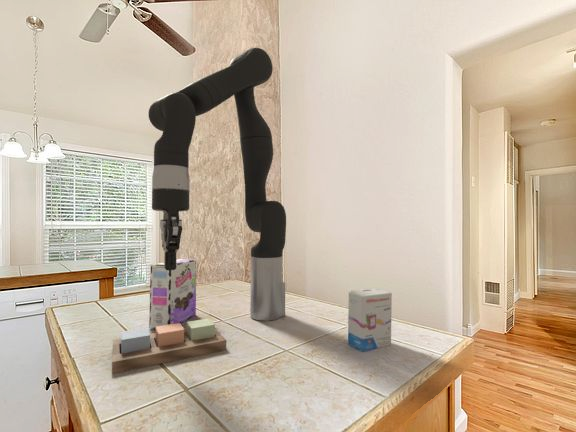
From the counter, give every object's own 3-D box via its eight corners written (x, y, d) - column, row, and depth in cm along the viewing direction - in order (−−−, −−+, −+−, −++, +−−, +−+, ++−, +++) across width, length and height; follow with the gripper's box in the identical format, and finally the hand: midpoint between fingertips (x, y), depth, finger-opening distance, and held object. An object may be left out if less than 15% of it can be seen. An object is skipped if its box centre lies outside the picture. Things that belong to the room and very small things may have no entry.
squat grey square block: (147, 341, 65) (147, 327, 65) (150, 350, 60) (150, 335, 61) (121, 346, 62) (121, 331, 62) (121, 355, 58) (121, 339, 58)
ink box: (362, 352, 63) (362, 295, 63) (347, 344, 67) (347, 290, 68) (392, 345, 67) (392, 291, 67) (376, 337, 71) (376, 287, 72)
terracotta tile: (179, 336, 68) (179, 322, 68) (183, 344, 64) (184, 329, 64) (155, 340, 66) (155, 326, 66) (158, 348, 61) (158, 333, 61)
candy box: (169, 331, 76) (170, 264, 76) (148, 329, 77) (149, 264, 77) (196, 314, 89) (197, 258, 90) (178, 313, 90) (179, 258, 91)
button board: (210, 332, 75) (211, 323, 75) (226, 349, 65) (226, 340, 65) (112, 349, 65) (112, 339, 65) (111, 373, 54) (112, 362, 54)
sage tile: (208, 331, 71) (208, 318, 71) (214, 338, 67) (214, 324, 67) (186, 335, 69) (186, 321, 69) (191, 342, 64) (191, 328, 64)
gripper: (196, 186, 62) (195, 272, 61) (183, 192, 73) (182, 264, 73) (155, 184, 58) (154, 275, 57) (149, 190, 69) (148, 267, 69)
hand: (170, 269), depth 65 cm, fingers closed
